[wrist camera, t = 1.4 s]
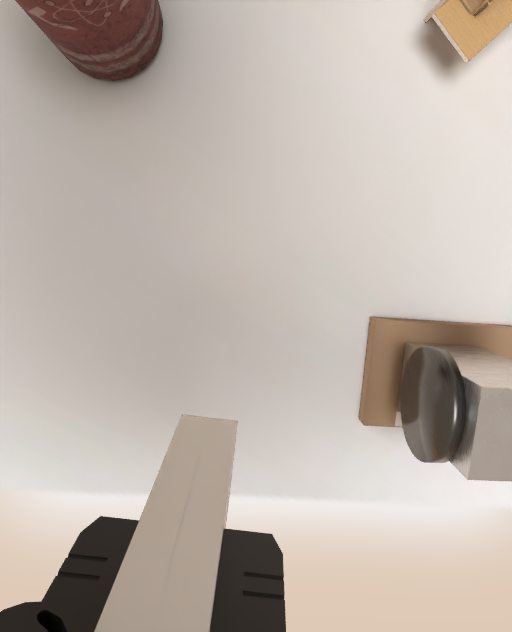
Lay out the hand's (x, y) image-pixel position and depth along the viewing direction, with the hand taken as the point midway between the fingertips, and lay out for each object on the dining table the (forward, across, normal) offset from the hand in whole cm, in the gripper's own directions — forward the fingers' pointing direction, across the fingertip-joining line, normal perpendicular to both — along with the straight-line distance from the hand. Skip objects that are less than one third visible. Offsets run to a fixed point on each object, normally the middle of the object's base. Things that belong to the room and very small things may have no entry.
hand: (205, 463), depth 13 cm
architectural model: (+21, +11, +20) cm, 31 cm away
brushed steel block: (+17, +13, -3) cm, 22 cm away
